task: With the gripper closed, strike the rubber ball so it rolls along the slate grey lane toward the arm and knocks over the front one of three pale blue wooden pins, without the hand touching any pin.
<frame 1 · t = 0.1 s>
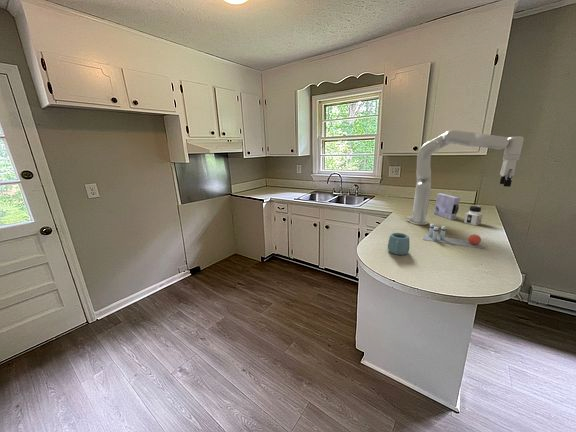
hand: (504, 185, 153), 31 cm above the countertop, fingers open, 9 cm apart
container: (472, 223, 179), on the countertop
mug: (397, 253, 133), on the countertop
front pin: (441, 239, 150), on the countertop
pin 1: (430, 236, 155), on the countertop
cake pan box: (444, 216, 196), on the countertop
ball: (474, 239, 141), on the countertop
pin 2: (434, 240, 149), on the countertop
lane: (451, 241, 148), on the countertop
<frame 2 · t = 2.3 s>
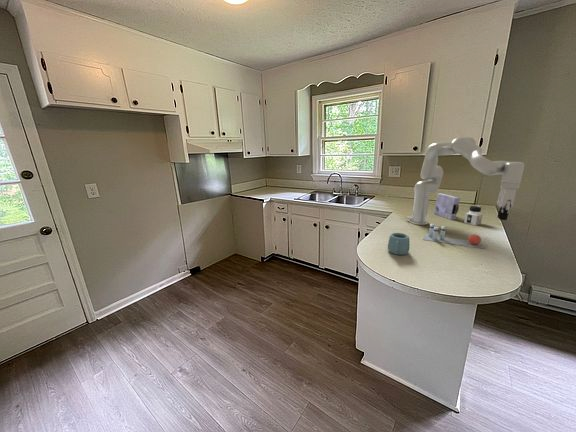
hand: (501, 218, 133), 17 cm above the countertop, fingers closed
nothing on the countertop moved.
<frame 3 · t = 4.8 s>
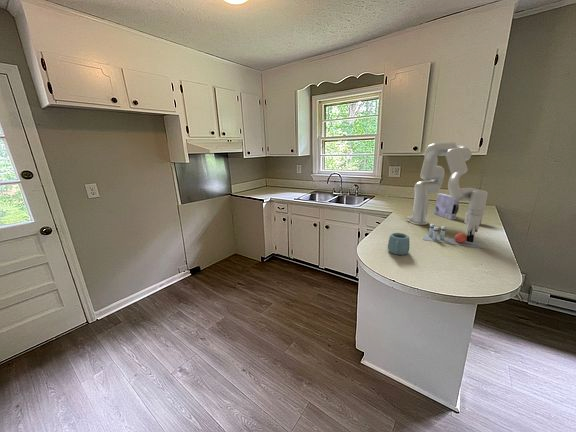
hand: (469, 241, 143), 1 cm above the countertop, fingers closed
ball: (460, 237, 144), on the countertop
everything else where it was.
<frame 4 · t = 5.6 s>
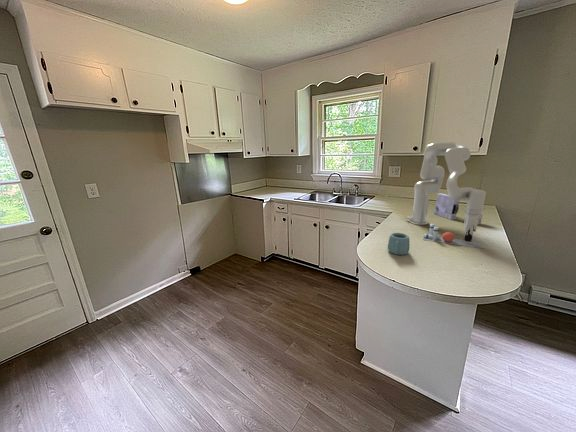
hand: (467, 241, 143), 2 cm above the countertop, fingers closed
front pin: (439, 237, 150), point 1 cm above the countertop, tilted 90°
ball: (448, 237, 146), on the countertop
everything else where it was.
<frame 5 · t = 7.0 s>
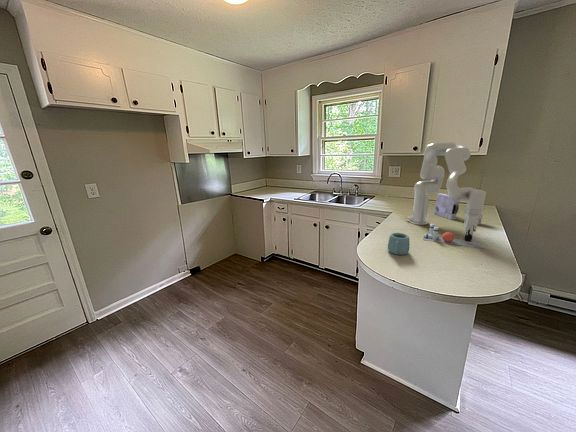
hand: (467, 241, 143), 2 cm above the countertop, fingers closed
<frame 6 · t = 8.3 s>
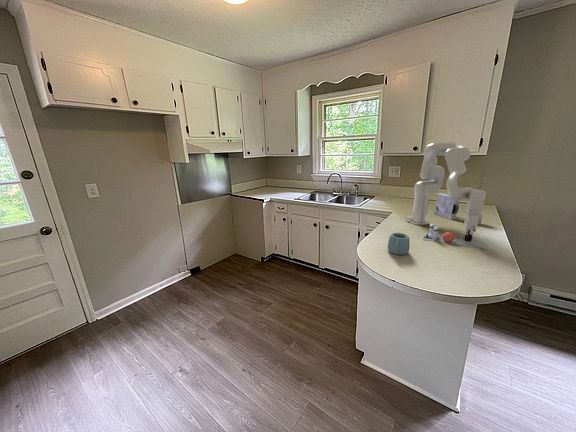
hand: (467, 241, 143), 2 cm above the countertop, fingers closed
nothing on the countertop moved.
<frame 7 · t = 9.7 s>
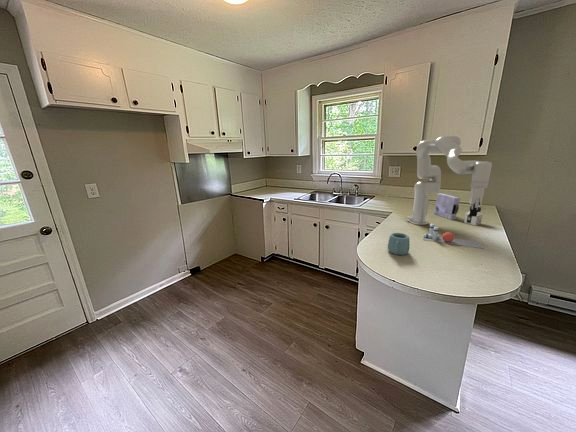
hand: (472, 215, 139), 17 cm above the countertop, fingers closed
nothing on the countertop moved.
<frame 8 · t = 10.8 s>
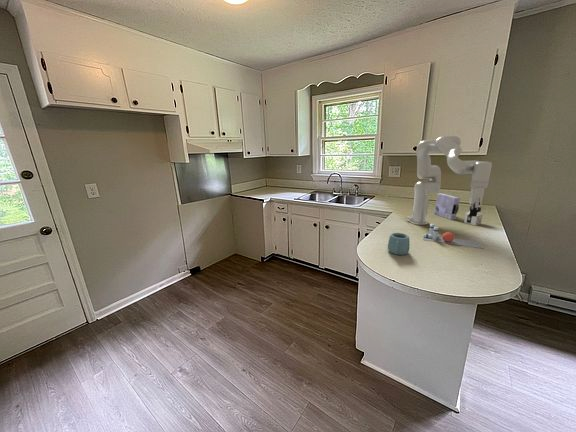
hand: (472, 215, 139), 17 cm above the countertop, fingers closed
nothing on the countertop moved.
at the end: front pin tilted 90°; front pin never touched the robot; ball moved 13.3 cm from its start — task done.
